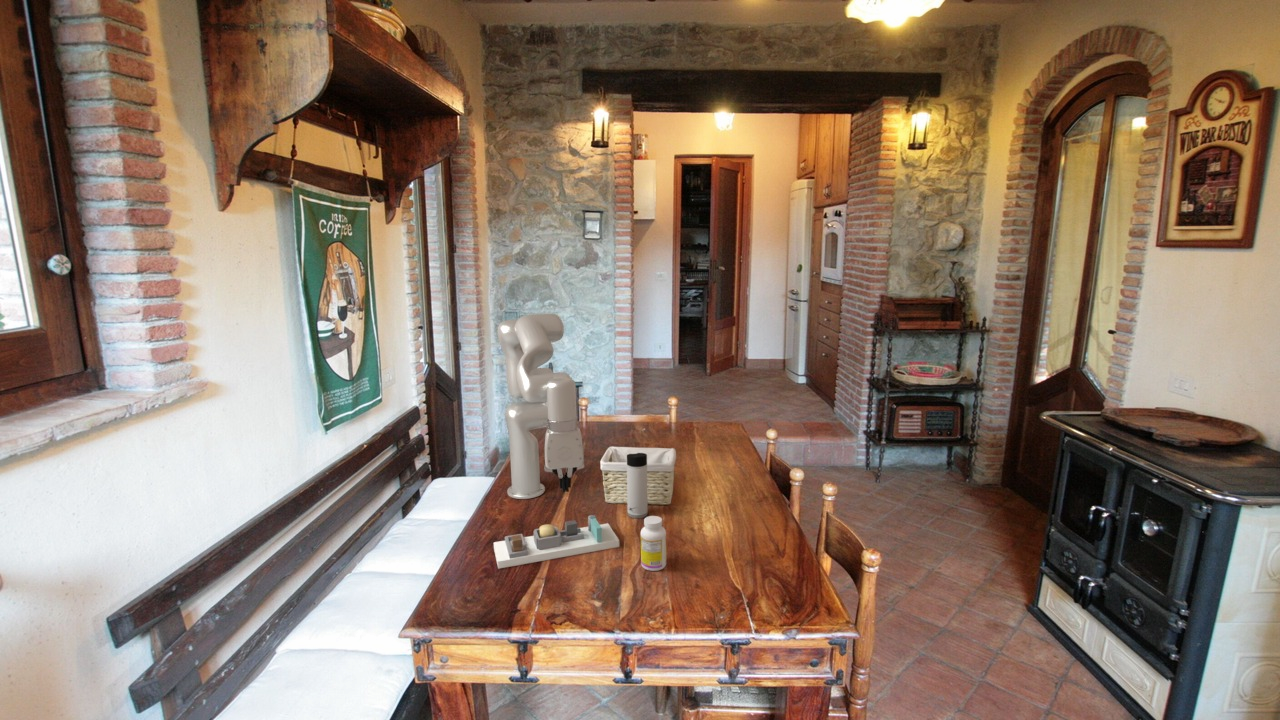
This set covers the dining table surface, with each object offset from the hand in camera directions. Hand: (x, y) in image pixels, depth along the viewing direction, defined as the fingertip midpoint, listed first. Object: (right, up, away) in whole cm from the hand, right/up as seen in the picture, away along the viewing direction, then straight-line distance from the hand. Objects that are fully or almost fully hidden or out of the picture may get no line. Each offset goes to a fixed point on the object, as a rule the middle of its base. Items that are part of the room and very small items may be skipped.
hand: (565, 490), depth 161 cm
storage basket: (+20, -11, +39) cm, 45 cm away
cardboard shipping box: (-12, -16, -2) cm, 21 cm away
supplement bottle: (+24, -19, -5) cm, 31 cm away
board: (-3, -17, +4) cm, 18 cm away
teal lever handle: (+8, -14, +7) cm, 17 cm away
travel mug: (+20, -13, +25) cm, 34 cm away
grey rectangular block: (+1, -15, +6) cm, 16 cm away
